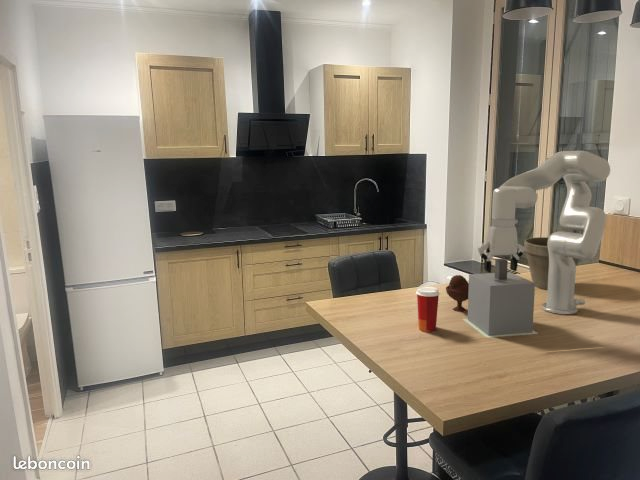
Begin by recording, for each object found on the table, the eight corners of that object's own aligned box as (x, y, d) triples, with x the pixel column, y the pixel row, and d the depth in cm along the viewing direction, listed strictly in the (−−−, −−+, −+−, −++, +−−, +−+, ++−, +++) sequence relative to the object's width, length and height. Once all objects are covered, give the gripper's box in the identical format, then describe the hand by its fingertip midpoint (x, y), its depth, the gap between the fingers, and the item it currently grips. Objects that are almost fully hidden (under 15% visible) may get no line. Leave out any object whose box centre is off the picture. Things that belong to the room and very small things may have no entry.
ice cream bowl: (475, 315, 178) (476, 278, 176) (446, 314, 180) (446, 277, 178) (472, 307, 188) (473, 271, 186) (444, 306, 191) (445, 271, 188)
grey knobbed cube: (507, 317, 174) (510, 253, 170) (532, 332, 159) (536, 263, 154) (467, 319, 172) (469, 256, 168) (488, 335, 157) (491, 265, 152)
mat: (509, 316, 176) (509, 315, 176) (538, 334, 157) (538, 333, 157) (462, 319, 174) (462, 318, 174) (486, 338, 155) (486, 337, 155)
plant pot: (592, 293, 202) (596, 245, 198) (536, 294, 203) (539, 247, 199) (563, 279, 227) (566, 236, 223) (513, 280, 227) (515, 237, 223)
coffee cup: (439, 326, 168) (440, 287, 165) (437, 334, 160) (438, 293, 158) (416, 324, 171) (417, 285, 168) (413, 332, 163) (414, 291, 160)
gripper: (520, 221, 164) (517, 267, 167) (474, 222, 162) (472, 269, 164) (532, 223, 156) (529, 272, 159) (484, 225, 154) (482, 274, 157)
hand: (500, 270), depth 162 cm, fingers open, 9 cm apart
